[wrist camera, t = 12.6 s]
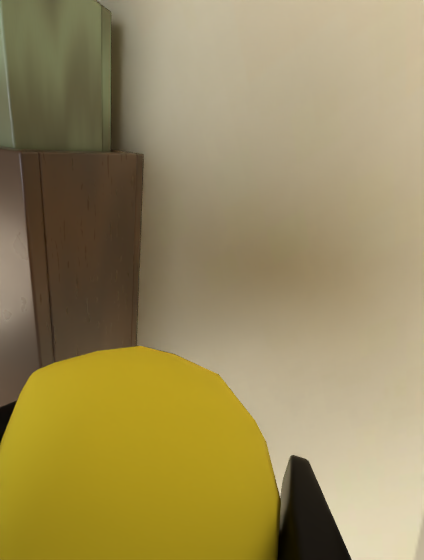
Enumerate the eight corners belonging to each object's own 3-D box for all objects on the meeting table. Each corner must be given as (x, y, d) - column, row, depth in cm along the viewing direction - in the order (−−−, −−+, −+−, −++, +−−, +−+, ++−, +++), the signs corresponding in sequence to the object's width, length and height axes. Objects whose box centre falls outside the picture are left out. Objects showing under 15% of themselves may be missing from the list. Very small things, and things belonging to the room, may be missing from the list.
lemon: (59, 363, 10) (-160, 544, 6) (164, 255, 8) (-51, 400, 3) (211, 513, 11) (131, 800, 6) (350, 450, 9) (404, 832, 4)
